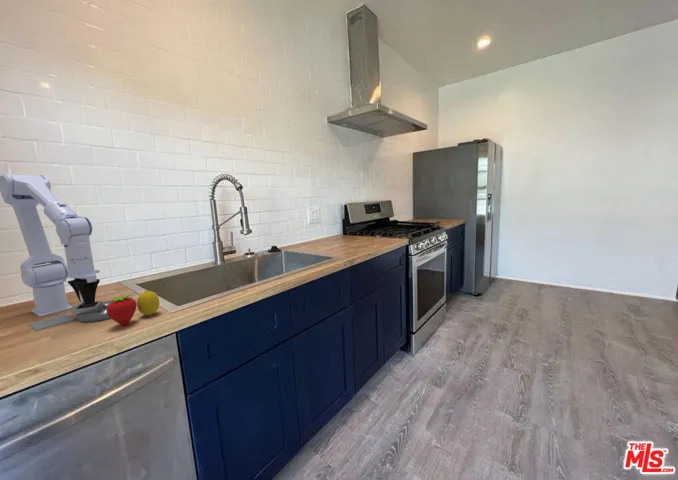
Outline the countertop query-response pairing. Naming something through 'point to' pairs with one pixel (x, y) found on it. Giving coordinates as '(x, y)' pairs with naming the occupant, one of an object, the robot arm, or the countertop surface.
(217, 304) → the countertop surface
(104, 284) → the countertop surface
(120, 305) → the strawberry
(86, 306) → the key
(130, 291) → the countertop surface
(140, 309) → the lemon
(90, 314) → the grey rounded hollow piece
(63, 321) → the mat
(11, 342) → the countertop surface
